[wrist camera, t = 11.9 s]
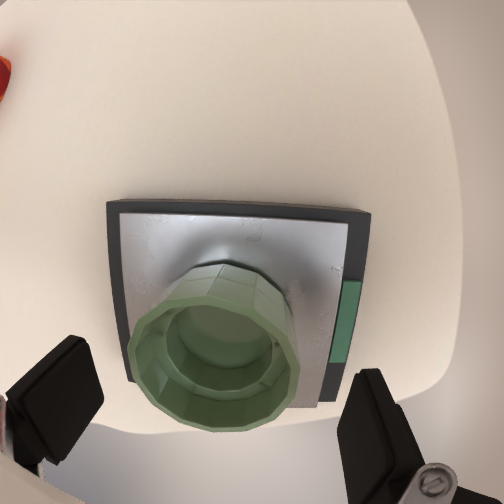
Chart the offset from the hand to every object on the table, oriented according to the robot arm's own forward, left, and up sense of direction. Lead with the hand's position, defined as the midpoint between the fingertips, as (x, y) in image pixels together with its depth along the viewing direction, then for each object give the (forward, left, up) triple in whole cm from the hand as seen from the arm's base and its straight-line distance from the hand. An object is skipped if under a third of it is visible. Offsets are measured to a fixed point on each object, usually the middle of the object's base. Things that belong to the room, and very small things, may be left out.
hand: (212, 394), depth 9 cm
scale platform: (0, 0, -6) cm, 6 cm away
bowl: (0, 0, -6) cm, 6 cm away
